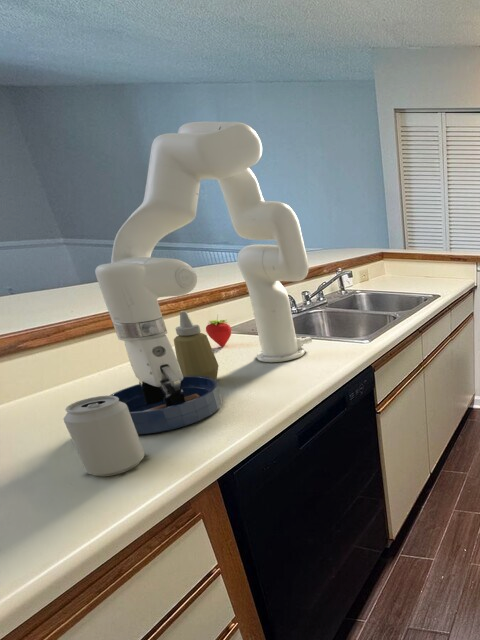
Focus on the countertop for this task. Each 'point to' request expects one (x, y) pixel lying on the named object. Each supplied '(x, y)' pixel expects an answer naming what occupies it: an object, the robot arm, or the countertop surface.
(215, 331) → the strawberry
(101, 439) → the can
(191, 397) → the stirring stick
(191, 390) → the bowl
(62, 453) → the countertop surface
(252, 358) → the countertop surface
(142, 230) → the robot arm
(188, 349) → the squeeze bottle
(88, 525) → the countertop surface
